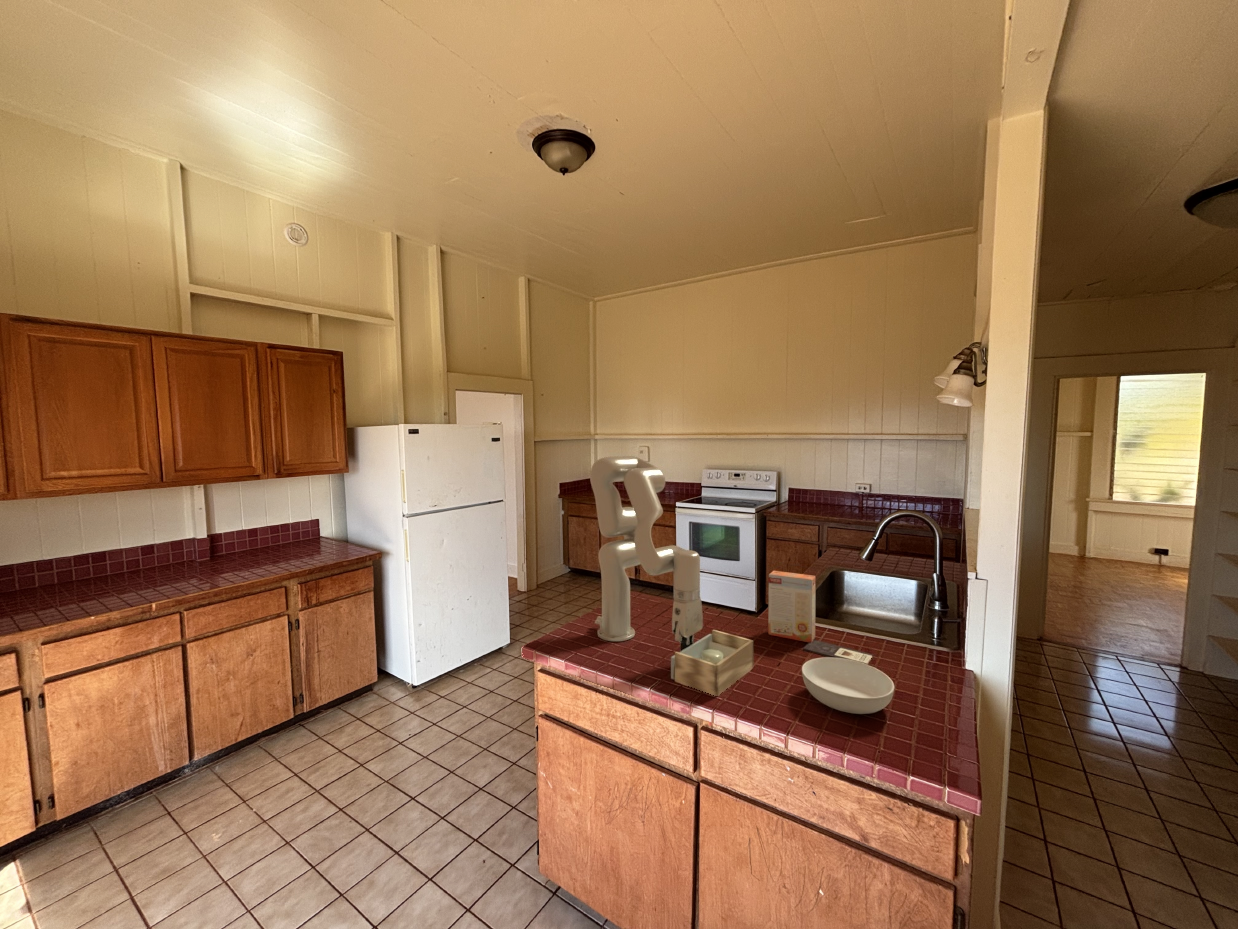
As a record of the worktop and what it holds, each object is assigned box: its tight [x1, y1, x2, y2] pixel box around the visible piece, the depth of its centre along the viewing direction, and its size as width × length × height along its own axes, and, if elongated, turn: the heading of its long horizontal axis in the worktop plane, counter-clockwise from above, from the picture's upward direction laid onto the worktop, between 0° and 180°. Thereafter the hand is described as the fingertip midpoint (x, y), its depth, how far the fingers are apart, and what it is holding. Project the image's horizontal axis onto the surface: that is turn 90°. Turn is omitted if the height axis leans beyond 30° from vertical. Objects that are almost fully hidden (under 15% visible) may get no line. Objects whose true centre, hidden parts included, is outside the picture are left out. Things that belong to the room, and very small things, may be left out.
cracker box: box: [767, 570, 816, 643], centre depth 164 cm, size 14×6×21 cm, turn 58°
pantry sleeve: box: [674, 629, 754, 697], centre depth 138 cm, size 13×21×8 cm, turn 140°
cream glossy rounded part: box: [701, 649, 723, 664], centre depth 138 cm, size 6×6×4 cm
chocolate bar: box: [802, 638, 874, 665], centre depth 151 cm, size 9×1×18 cm
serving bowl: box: [801, 656, 895, 715], centre depth 123 cm, size 21×21×7 cm
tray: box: [670, 633, 737, 680], centre depth 138 cm, size 13×21×6 cm, turn 140°
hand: (686, 655), depth 144 cm, fingers closed
